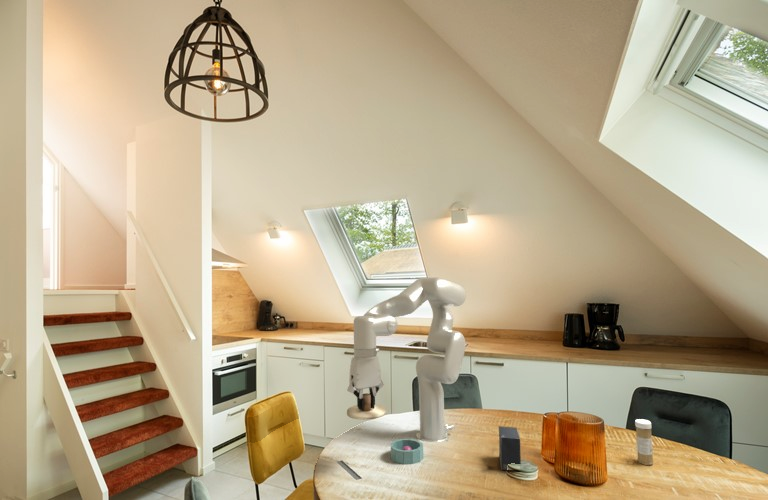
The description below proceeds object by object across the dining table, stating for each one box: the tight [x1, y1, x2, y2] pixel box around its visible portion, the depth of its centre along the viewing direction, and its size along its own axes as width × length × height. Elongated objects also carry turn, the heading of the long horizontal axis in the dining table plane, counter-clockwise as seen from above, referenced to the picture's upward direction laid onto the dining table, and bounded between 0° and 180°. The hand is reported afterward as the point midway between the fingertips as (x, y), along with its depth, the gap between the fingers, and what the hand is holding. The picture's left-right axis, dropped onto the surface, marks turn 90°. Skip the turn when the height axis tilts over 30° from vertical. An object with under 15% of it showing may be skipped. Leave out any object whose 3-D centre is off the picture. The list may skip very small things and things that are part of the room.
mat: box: [336, 459, 362, 481], centre depth 139 cm, size 15×15×1 cm
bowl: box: [390, 438, 424, 465], centre depth 143 cm, size 11×11×5 cm
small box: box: [498, 425, 522, 471], centre depth 139 cm, size 11×6×10 cm, turn 168°
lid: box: [346, 393, 387, 421], centre depth 140 cm, size 13×13×6 cm
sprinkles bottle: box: [634, 418, 654, 466], centre depth 138 cm, size 5×5×14 cm
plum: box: [402, 446, 412, 450], centre depth 143 cm, size 4×4×4 cm
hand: (366, 408), depth 140 cm, fingers closed on lid, 3 cm apart
